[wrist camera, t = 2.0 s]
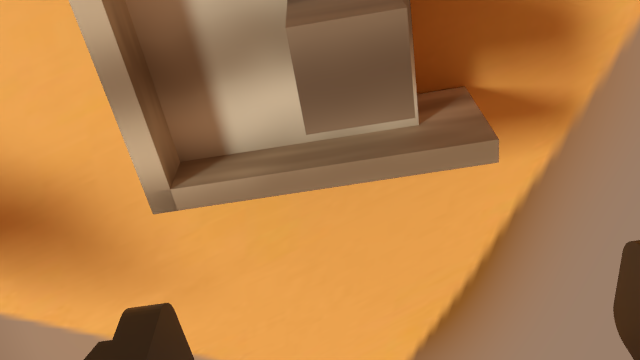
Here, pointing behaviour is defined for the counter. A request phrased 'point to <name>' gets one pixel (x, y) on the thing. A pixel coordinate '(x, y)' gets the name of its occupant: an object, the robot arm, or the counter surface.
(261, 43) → the crate
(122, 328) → the robot arm
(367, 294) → the counter surface
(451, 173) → the counter surface
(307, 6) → the block
